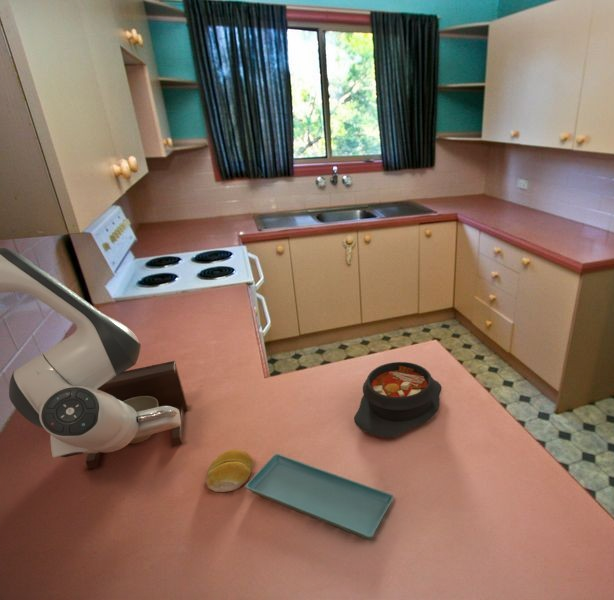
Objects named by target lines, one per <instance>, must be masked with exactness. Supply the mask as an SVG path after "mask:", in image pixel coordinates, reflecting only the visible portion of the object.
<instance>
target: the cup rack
mask: <svg viewBox="0 0 614 600" xmlns="http://www.w3.org/2000/svg"><path fill="white" fill-rule="evenodd" d="M97 390H100V391H103V392H106V393H108V394H110V395H112V396H113V397H115V398H116V399H118V400H120V401H125V400H127V399H130V398H134V397H139V396H151V397H154V398H156V399H157V400H158V404H159V407H161V406H171V407H174V408H177V409H178V410H179V413H180V419H181V425H180V426H179V427H177V428H173V429H171V430H172V431H171V441H172V445H173V447H175V446H179V445H182V444H183V436H184V435H183V434H184V433H183V432H184V420H185V419H184V417H185V412H187V411H189V406H188V402H187V398H186V394H185V391H184V387H183V384H182V381H181V376H180V373H179V370H178V366H177V362H176V360H172V361H167V362H162V363H157V364H152V365H148V366H143V367H138V368H134V369H127V370H126V371H124V372H122V373H121V374H119V375H116V376H114V377H113V378H112V379H110V380H109V381H108V382H106V383H105V384H103V385H102V386H101V387H99V388H98V389H97ZM102 453H103V452H98V453H87V456H86V459H85V464H86V467H87V470H91V469H94V468H98V467H99V463H100V460H101V457H102Z"/></svg>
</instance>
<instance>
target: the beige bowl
mask: <svg viewBox="0 0 614 600" xmlns="http://www.w3.org/2000/svg"><path fill="white" fill-rule="evenodd" d="M122 402H124V403H126V404H128V405H129V406H131V407H132V408H133V409H134V410H135V411H136V412H139V411H143V410H148V409H152V408H156V407H159V404H158V400H157V399H156V398H154V397H151V396H139V397H134V398H130V399H127V400H125V401H122ZM152 436H153V434H150V435H146V436H142V437H138V438H135V439H132V441H131V442H130V443H129V444H141V443H142V442H145V441H147V440H149V439H150V438H151V437H152Z"/></svg>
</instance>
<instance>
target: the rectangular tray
mask: <svg viewBox="0 0 614 600" xmlns="http://www.w3.org/2000/svg"><path fill="white" fill-rule="evenodd" d="M244 487H245V489H247V490H249V492H251V493H253V494H255V495H258V496H260V497H263V498H264V499H267V500H270V501H272V502H275V503H277V504H279V505H282V506H284V507H286V508H289V509H292V510H294V511H296V512H299V513H301V514H304V515H306V516H309V517H312V518H313V519H316V520H319V521H321V522H324V523H326V524H328V525H331V526H333V527H336V528H338V529H341V530H344V531H346V532H348V533H351V534H353V535H356V536H359V537H361V538H364V539H366V540H371V538H373V536H374V534H376V531H377V528H378V527H379V525H380V523H381V521H382V520H383V517H384V515H385V514H386V512H387V511H388V508H389V507H390V505H391V504H392V502H393V500H394V498H395V497H394V494H392V493H389V492H386V491H383V490H380V489H377V488H376V487H372V486H369V485H366V484H364V483H360V482H358V481H355V480H353V479H349V478H346V477H343V476H341V475H338V474H336V473H332V472H330V471H327V470H324V469H322V468H318V467H315V466H313V465H310V464H307V463H304V462H301V461H299V460H296V459H293V458H291V457H288V456H285V455H282V454H280V453H274V454H273V455H272V456H271V457H270V459H269V460H268V461H267V462H266V463H265V464H264V465H263V466H262V467H261V468H260V469H259V470H258V472H257V473H256V474H255V475H254V476H252V477H251V479H250V480H249V481H248V482H247V483H246V484H245V485H244Z"/></svg>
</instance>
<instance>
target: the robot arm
mask: <svg viewBox="0 0 614 600" xmlns="http://www.w3.org/2000/svg"><path fill="white" fill-rule="evenodd" d="M3 293H20V294H25V295H29V296H31V297H34V298H35V299H37V300H38V301H40V302H42V303H43V304H45V305H46V306H47V307H49V308H50V309H51V310H53V311H55V312H56V313H58V315H61V316H62V317H63V318H65V319H66V320H68V321H69V322H70V323H72V324H74V325H75V326H76V329H75V331H74V332H73V333H72V334H70V335H69V336H68V337H65V338H64V339H63V340H61V341H60V342H58V343H57V344H55V345H53V346H52V347H50V348H48V349H47V350H46V351H44V352H42V353H40V354H39V355H37V356H36V357H34V358H32V359H31V360H29V361H27V362H26V363H24V364H23V365H21V366H20V367H19V368H17V369H16V370H15V371H13V372H12V374H11V376H10V379H9V386H8V397H9V400H10V402H11V404H12V405H13V406H14V408H15V409H16V411H18V413H19V414H20V415H21V416H22V417H23V418H24V419H26V420H27V421H28V422H30V423H31V424H32V425H34V426H35V427H38V428H43V429H44V430H45V431H46V433H48V434H49V435H50V439H49V441H50V451H51V456H52V458H53V459H63V458H69V457H73V456H79V455H83V454H88V453H98V452H102V453H114V452H116V451H120V450H121V449H123V448H125V447H126V446H128V444H131V443H130V442H131V441H132V439H135V438H138V437H142V436H146V435H150V434H152V435H153V434H158V433H161V432H165V431H169V430H173V428H177V427H179V426H180V425H181V419H180V413H179V410H178V409H177V408H174V407H171V406H161V407H156V408H152V409H148V410H143V411H139V412H136V411H135V410H134V409H133V408H132V407H131V406H129V405H128V404H126V403H124V402H122V401H120V400H118V399H116V398H115V397H113V396H112V395H110V394H108V393H106V392H103V391H100V390H97V389H98V388H99V387H101V386H102V385H103V384H105V383H106V382H108V381H109V380H110V379H112V378H113V377H114V376H116V375H119V374H121V373H122V372H124V371H128V370H130V369H131V368H132V367H134V366H135V365H136V364H137V361H138V359H139V356H140V354H141V353H140V352H141V345H142V344H141V343H140V341H139V339H138V337H137V335H136V334H135V333H134V332H133V331H132V330H131V329H130V328H129V327H128V326H126V325H124V323H122V322H120V321H119V320H116V319H114V318H113V317H110V316H108V315H107V314H105V313H103V312H102V311H100V310H99V309H98V308H96V307H95V306H93V305H92V304H91V303H90V302H88V301H87V300H85V299H84V298H83V297H82V296H80V295H78V294H77V293H76V292H74V291H73V290H72V289H70V288H69V287H68V286H66V285H65V284H63V282H61V281H59V279H57V278H55V277H54V276H53V275H52V274H49V272H47V271H45V270H44V269H42V268H41V267H40V266H38V264H35V263H34V262H32V261H31V260H29V258H27V257H25V256H24V255H22V254H20V253H18V252H17V251H14V250H12V249H11V248H8V247H0V294H3Z"/></svg>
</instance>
